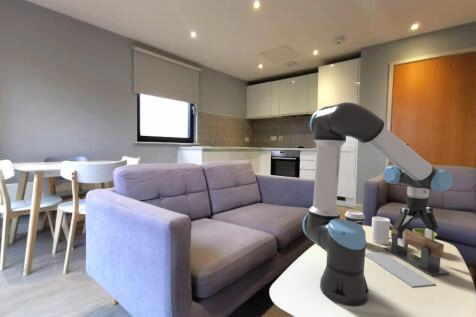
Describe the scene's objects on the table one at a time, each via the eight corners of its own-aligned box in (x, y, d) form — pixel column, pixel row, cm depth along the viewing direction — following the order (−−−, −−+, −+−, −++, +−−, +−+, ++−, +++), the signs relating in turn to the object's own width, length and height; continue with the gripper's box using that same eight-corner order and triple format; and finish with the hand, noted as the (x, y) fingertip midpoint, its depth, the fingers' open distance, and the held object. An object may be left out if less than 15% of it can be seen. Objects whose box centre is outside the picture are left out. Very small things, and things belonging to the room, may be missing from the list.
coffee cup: (364, 239, 128) (365, 211, 127) (362, 245, 120) (364, 216, 119) (345, 235, 133) (346, 209, 132) (342, 241, 125) (343, 213, 124)
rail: (435, 257, 94) (436, 244, 93) (390, 235, 115) (391, 225, 115) (443, 256, 94) (443, 244, 94) (397, 235, 116) (397, 225, 116)
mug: (399, 245, 122) (400, 222, 121) (388, 248, 118) (389, 224, 117) (377, 237, 132) (378, 215, 132) (366, 239, 129) (368, 217, 128)
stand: (431, 276, 93) (433, 252, 92) (384, 249, 116) (385, 230, 116) (449, 275, 94) (451, 251, 93) (398, 248, 118) (399, 229, 117)
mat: (411, 287, 85) (411, 286, 85) (362, 253, 111) (362, 253, 111) (435, 285, 87) (435, 283, 87) (381, 252, 113) (381, 251, 113)
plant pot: (440, 254, 112) (441, 236, 112) (418, 252, 114) (419, 234, 113) (428, 246, 122) (429, 229, 121) (407, 244, 123) (408, 227, 123)
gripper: (399, 199, 98) (396, 250, 99) (450, 197, 102) (447, 246, 103) (385, 195, 105) (382, 242, 106) (433, 194, 109) (430, 239, 110)
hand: (414, 244), depth 105 cm, fingers open, 13 cm apart
